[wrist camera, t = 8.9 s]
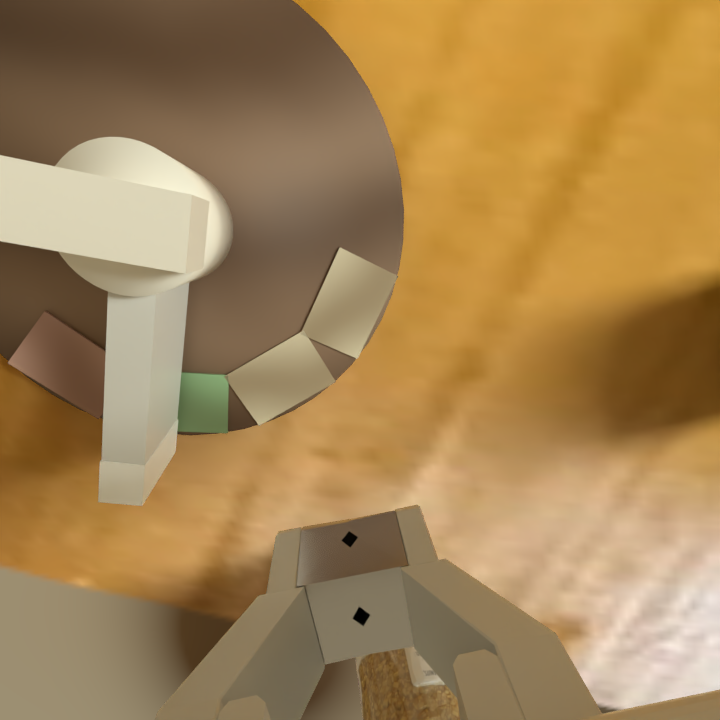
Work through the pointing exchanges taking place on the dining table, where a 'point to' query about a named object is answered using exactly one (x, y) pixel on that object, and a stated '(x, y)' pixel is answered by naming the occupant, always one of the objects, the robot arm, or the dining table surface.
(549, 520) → the dining table surface
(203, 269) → the cream toy mallet
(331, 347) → the dial
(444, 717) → the sprinkles bottle
